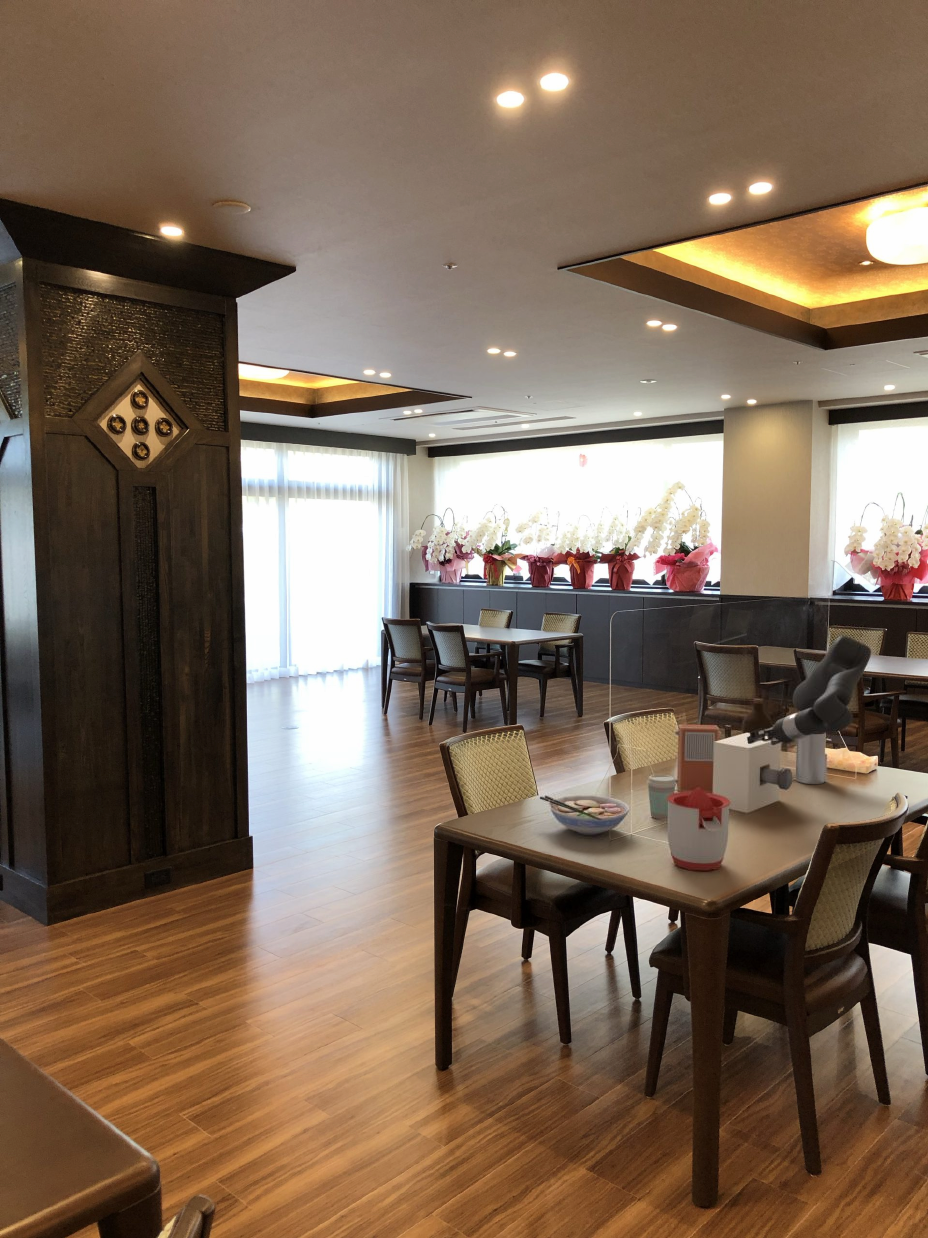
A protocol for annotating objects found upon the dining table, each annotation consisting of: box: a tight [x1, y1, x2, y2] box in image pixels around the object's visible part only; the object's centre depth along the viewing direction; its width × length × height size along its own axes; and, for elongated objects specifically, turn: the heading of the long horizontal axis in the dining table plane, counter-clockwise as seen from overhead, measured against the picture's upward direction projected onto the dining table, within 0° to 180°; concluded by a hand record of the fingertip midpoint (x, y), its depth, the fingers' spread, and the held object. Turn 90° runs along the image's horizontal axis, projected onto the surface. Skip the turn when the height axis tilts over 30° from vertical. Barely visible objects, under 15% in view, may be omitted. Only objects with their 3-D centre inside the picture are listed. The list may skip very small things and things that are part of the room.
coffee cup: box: [646, 774, 677, 820], centre depth 280 cm, size 9×9×12 cm
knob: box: [760, 767, 793, 791], centre depth 289 cm, size 6×9×6 cm
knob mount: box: [713, 733, 782, 814], centre depth 296 cm, size 20×12×20 cm, turn 134°
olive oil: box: [741, 698, 774, 736], centre depth 342 cm, size 11×11×25 cm
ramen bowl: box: [539, 794, 631, 836], centre depth 267 cm, size 25×23×8 cm
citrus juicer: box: [667, 788, 730, 871], centre depth 239 cm, size 16×17×20 cm
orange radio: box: [674, 723, 722, 793], centre depth 310 cm, size 21×7×15 cm
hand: (760, 741), depth 287 cm, fingers open, 8 cm apart
